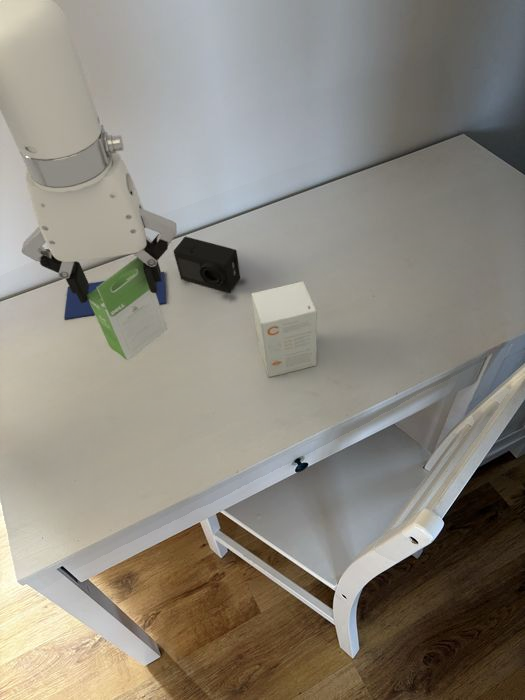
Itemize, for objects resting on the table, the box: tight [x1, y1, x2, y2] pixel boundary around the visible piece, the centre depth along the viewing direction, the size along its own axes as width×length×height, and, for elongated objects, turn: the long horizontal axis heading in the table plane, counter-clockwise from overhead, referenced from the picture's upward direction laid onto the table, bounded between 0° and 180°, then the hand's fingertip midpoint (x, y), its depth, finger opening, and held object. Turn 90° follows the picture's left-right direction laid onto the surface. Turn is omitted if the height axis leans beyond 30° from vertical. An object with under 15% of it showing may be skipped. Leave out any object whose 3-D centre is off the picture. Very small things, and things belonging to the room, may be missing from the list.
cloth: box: [63, 271, 167, 321], centre depth 97 cm, size 18×8×1 cm, turn 98°
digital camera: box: [173, 236, 241, 294], centre depth 95 cm, size 10×5×7 cm, turn 65°
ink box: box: [87, 257, 168, 362], centre depth 65 cm, size 7×4×13 cm, turn 138°
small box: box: [251, 280, 318, 378], centre depth 81 cm, size 8×6×13 cm
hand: (119, 288), depth 63 cm, fingers closed on ink box, 7 cm apart
